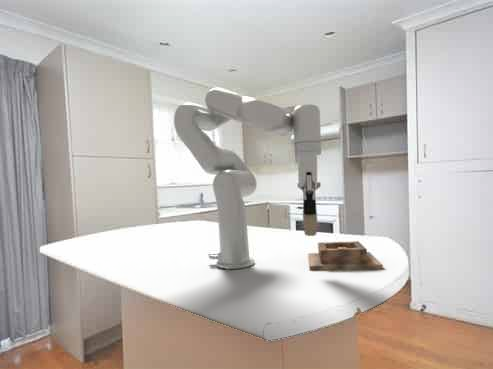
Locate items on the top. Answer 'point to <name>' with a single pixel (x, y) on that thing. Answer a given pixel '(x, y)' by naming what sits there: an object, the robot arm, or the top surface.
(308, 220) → the handle
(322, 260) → the hub block
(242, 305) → the top surface
